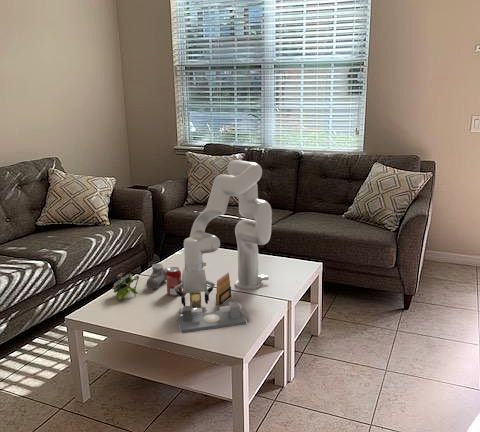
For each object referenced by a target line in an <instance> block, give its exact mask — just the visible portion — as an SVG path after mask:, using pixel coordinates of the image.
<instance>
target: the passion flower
mask: <svg viewBox="0 0 480 432" xmlns="http://www.w3.org/2000/svg"><path fill="white" fill-rule="evenodd" d="M116 279H117V281H115V282H114V284H113V287H112V288H111V290H113V293H114V294H115V293H116V294H115V300H116V301H121V300H122V299H126V297H128V295H130V292H131V293H132V294H134V296H136V295H139V294H138V292H137V285H138V281H139V279H140V276H139V275H138V274H137V275H135V276H134V275H133V273H128V274H126V273H125V272H122V273H120V274H117V275H116ZM134 281H136V283H135V286H134V287H131V284H132V283H133V282H134Z"/></svg>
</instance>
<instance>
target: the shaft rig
mask: <svg viewBox="0 0 480 432" xmlns="http://www.w3.org/2000/svg"><path fill="white" fill-rule="evenodd" d="M218 307H219V310H217V311H216V310H215V311H209V312H208V311H207V312H203V313H202V314H193V319H192V322H183V315H178V316H177V322H178V325H179V331H180V334H188V333H189V334H190V333H196V332H204V331H209V330H211V331H212V330H218V329H224V328H225V329H226V328H231V327H233V328H234V327H238V326H239V327H240V326H246V325H247V320H246V318H245V316H244V315H243V312H242V310H243V304H241V303H238V301H236V302H229V303H228V305H224V306H222V305H221V306H218Z"/></svg>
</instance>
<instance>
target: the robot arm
mask: <svg viewBox="0 0 480 432" xmlns="http://www.w3.org/2000/svg"><path fill="white" fill-rule="evenodd" d="M227 172H228V174H224V173H223V174H218V175H216V177H215V178H214V180H213V183H212V187H211V190H210V193H209V197H208V201H207V204H206V207H205V208H204V209H203V210H202V211H201V213H199V214H198V216H197V217H196V218H195V219H194V221H193V223H192V226H191V230H190V234H189V237H187V238H185V239H184V240H183V251H184V252H183V255H184V256H183V257H184V268H183V269H182V273H181V280H182V283H181V284H179V285H177V286H176V287H174V289H175V291H176V293H177V294H178V295H177V296H179V297H180V302H181V305H182V306H183V307H184V306H186V297H185V296H186V295H187V294H190V293H195V292H201V293H202V292H204V302H205V304H206V305H207V304H209V303H208V302H209V301H210V296H209V295H210V293H212V291H213V290H214V288H215V283H214V282H213V281H210V280H207V276H206V270H205V267H206V266H207V263H206V262H204V261H203V254H212V253H215V252H217V251H218V250H219V248H220V247H221V240H220V238H218V237H217V236H216V235H214V234H211V233H208V232H206V228H207V226H208V224H209V223H210V222H211V221H212V220H213V219H215V218H218V217H220V216H223V215H225V214H226V212H227V209H228V206H229V202H230V199H231V197H237V198H238V214H239V215H240V216H241V217H242V218H246V219H243V220H239V221H238V222H237V224H235V227H234V233H235V238H236V244H237V276H238V277H237V278H238V279H237V280H236V281H235V282H234V285H235V287H236V288H238V289H240V290H247V291H248V290H251V291H252V290H257V289H259V288H260V287H261V286H262V285H263V284H262V283H263V281H268V280H269V276H268V275H265V274H259V247H258V246H259V245H260V246H264V245H266V244H268V243H269V241H270V240H271V235H272V224H273V223H272V222H273V221H272V216H273V210H272V206H271V204H270V203H269V202H268V201H267V200H264V199H260V198H259V193H258V192H259V191H258V189H259V188H258V187H259V186H258V182H259V181H260V179H261V178H262V177H263V176H262V175H263V168H262V166H261V165H260V164H259V163H256V162H254V161H246V160H239V159H233V160H231V161H229V162H228V164H227ZM208 285H209V287H208ZM181 287H182V292H180V291H179V290H178V289H180V288H181Z"/></svg>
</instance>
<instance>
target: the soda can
mask: <svg viewBox="0 0 480 432" xmlns="http://www.w3.org/2000/svg"><path fill="white" fill-rule="evenodd" d="M166 269H167V272H166V292H167V293H166V294H168V295H169V296H172V297H175V296H176V297H177V296H179V295H178V294H177V293H176V291H175V289H174V287H176V286H177V285H179V284H181V283H182V271H181V270H180V267H179V266H171V267H168V268H166ZM178 290H179V291H180V292H182V291H183V289H182V287H181V288H180V289H178Z"/></svg>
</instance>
